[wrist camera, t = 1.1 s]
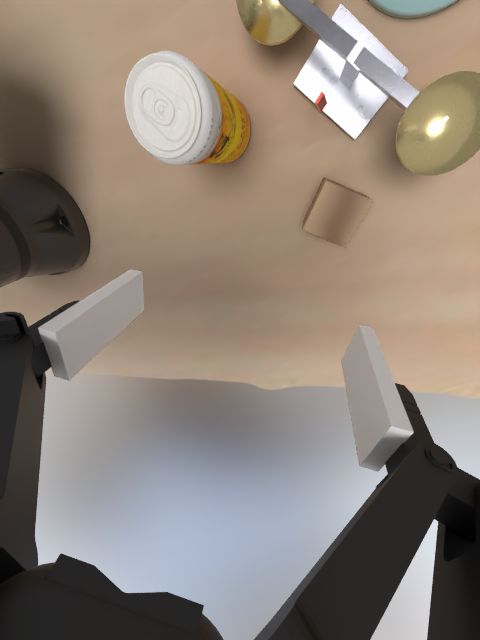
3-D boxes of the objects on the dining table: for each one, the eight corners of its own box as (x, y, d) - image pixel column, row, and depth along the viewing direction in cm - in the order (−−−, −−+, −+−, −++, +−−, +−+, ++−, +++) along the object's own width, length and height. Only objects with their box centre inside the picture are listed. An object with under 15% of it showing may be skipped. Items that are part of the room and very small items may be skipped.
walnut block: (303, 220, 32) (302, 229, 28) (323, 177, 29) (325, 180, 25) (340, 236, 32) (345, 247, 28) (364, 194, 29) (373, 200, 25)
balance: (234, 42, 25) (202, -6, 18) (276, -54, 22) (259, -163, 14) (397, 188, 28) (427, 199, 21) (458, 125, 25) (520, 111, 17)
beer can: (234, 173, 31) (183, 183, 19) (191, 142, 31) (109, 130, 18) (262, 119, 28) (223, 86, 15) (215, 82, 27) (134, 17, 15)
